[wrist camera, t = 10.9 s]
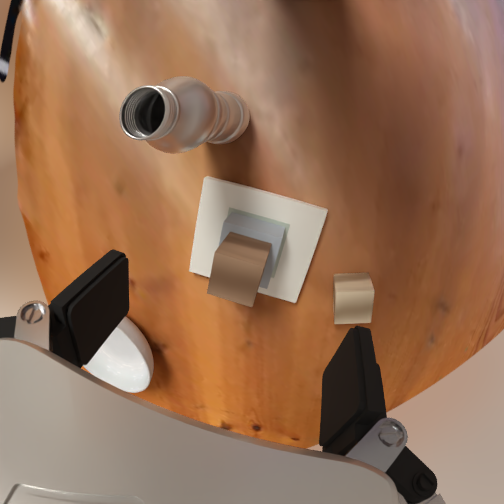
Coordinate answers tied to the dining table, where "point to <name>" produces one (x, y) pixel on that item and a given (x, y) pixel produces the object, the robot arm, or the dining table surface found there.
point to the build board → (266, 209)
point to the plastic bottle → (183, 115)
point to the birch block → (352, 298)
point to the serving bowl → (124, 359)
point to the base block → (256, 237)
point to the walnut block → (238, 268)
